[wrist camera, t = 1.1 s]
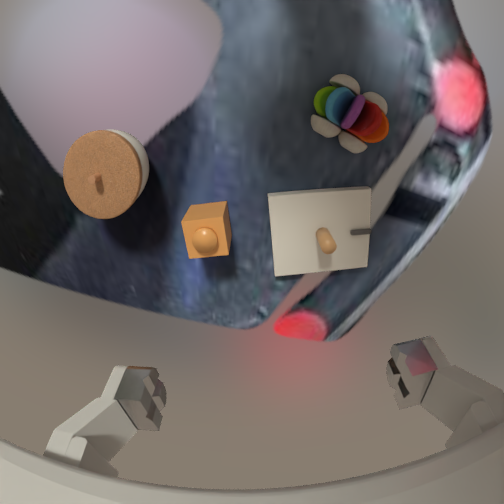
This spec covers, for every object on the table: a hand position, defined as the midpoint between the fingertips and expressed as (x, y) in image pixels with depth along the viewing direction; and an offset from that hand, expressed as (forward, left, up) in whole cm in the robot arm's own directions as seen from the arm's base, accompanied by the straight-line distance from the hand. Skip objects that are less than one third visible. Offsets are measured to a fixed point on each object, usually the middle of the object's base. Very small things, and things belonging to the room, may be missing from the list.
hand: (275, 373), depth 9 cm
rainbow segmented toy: (-7, +12, -33) cm, 35 cm away
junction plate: (+9, +8, -32) cm, 35 cm away
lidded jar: (-4, -18, -33) cm, 37 cm away
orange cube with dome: (+6, -7, -32) cm, 34 cm away
